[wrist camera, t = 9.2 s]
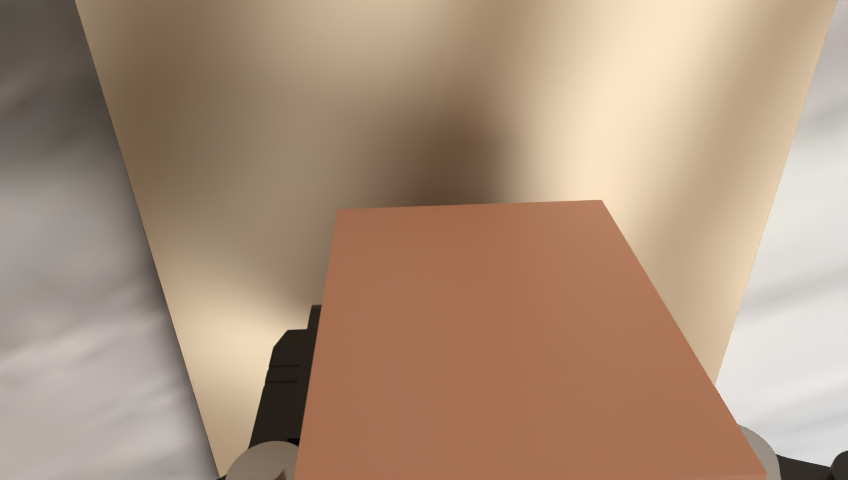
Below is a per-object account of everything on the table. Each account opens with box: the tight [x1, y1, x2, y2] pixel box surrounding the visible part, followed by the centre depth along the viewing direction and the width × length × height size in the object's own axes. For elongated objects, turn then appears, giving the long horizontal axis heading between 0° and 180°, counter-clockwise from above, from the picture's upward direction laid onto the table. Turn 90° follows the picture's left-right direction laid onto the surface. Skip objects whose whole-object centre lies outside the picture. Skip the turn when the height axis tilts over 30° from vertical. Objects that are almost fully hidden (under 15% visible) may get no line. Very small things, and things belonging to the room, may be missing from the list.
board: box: [75, 0, 837, 478], centre depth 15 cm, size 15×24×1 cm, turn 1°
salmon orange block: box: [294, 200, 767, 480], centre depth 11 cm, size 5×5×7 cm
